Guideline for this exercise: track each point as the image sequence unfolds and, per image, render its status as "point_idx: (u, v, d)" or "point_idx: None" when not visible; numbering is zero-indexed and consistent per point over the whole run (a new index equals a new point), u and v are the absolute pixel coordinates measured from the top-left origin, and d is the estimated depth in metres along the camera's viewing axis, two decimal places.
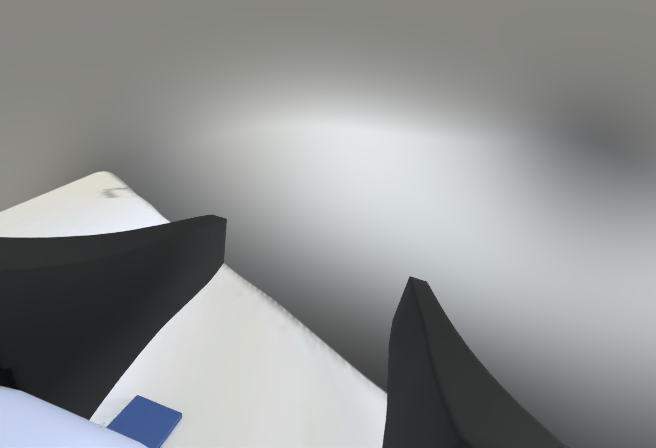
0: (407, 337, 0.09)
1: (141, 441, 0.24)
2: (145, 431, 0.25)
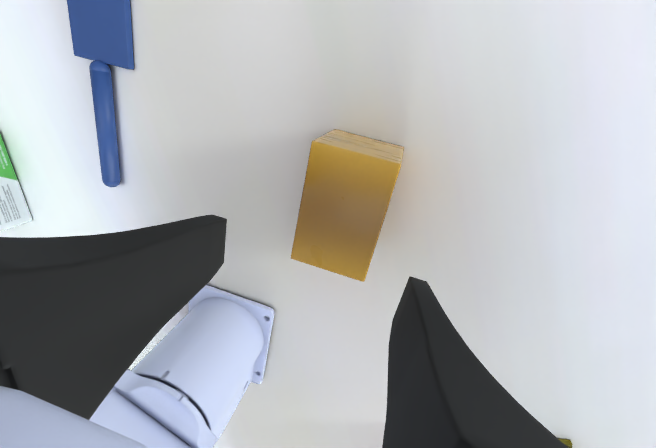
0: (407, 337, 0.09)
1: (108, 21, 0.20)
2: (103, 7, 0.20)
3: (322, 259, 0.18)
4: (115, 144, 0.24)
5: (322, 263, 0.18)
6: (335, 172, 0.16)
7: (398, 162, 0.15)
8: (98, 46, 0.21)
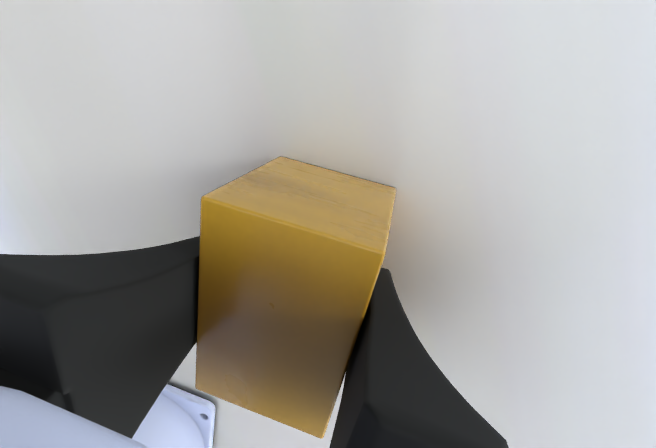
0: (362, 322, 0.09)
1: None
2: None
3: (248, 397, 0.10)
4: None
5: (247, 403, 0.10)
6: (254, 259, 0.08)
7: (380, 246, 0.07)
8: None
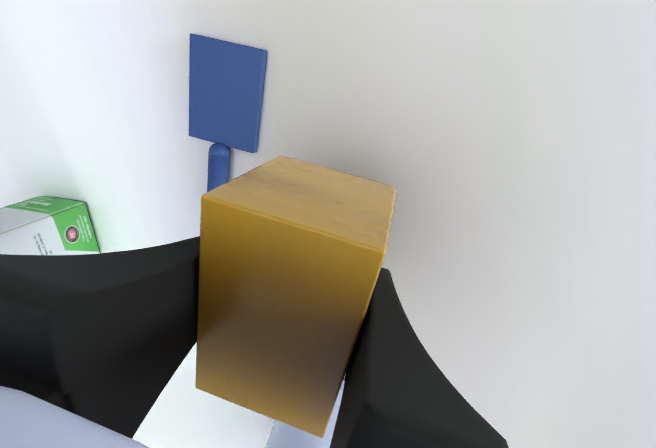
0: None
1: (236, 104, 0.18)
2: (233, 89, 0.18)
3: (248, 396, 0.10)
4: None
5: (248, 402, 0.10)
6: (254, 258, 0.08)
7: (380, 244, 0.07)
8: (219, 128, 0.19)
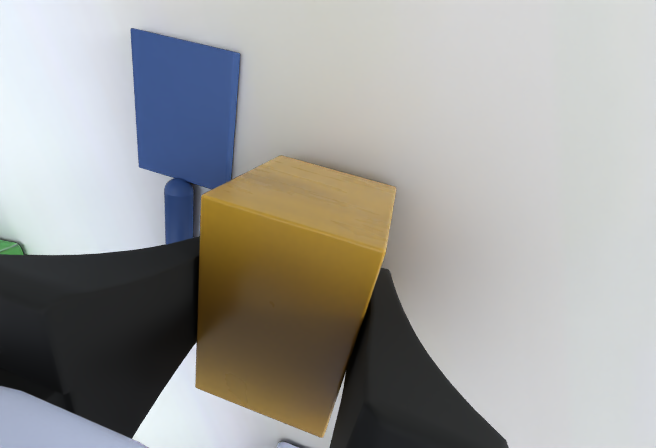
0: (362, 322, 0.09)
1: (200, 127, 0.13)
2: (194, 107, 0.13)
3: (248, 396, 0.10)
4: None
5: (248, 402, 0.10)
6: (254, 257, 0.08)
7: (380, 244, 0.07)
8: (178, 159, 0.14)
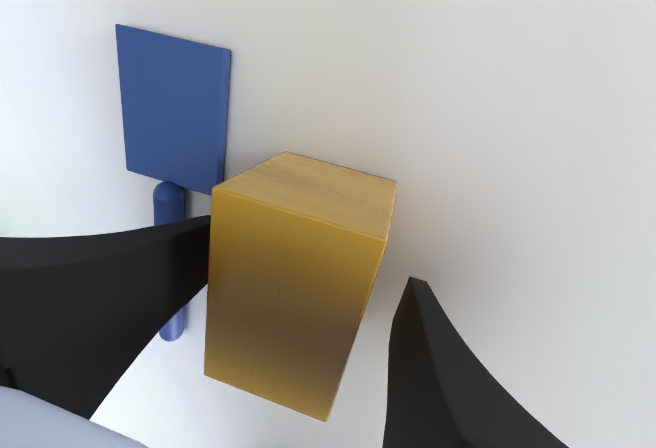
0: (407, 337, 0.09)
1: (189, 128, 0.12)
2: (183, 107, 0.12)
3: (254, 382, 0.10)
4: None
5: (254, 388, 0.10)
6: (262, 247, 0.08)
7: (382, 233, 0.07)
8: (167, 162, 0.13)
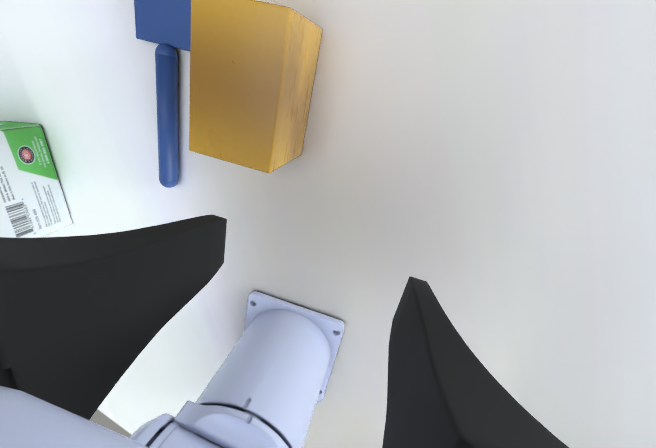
0: (407, 337, 0.09)
1: None
2: None
3: (222, 147, 0.16)
4: (176, 139, 0.21)
5: (222, 153, 0.16)
6: (221, 28, 0.13)
7: None
8: (165, 27, 0.18)
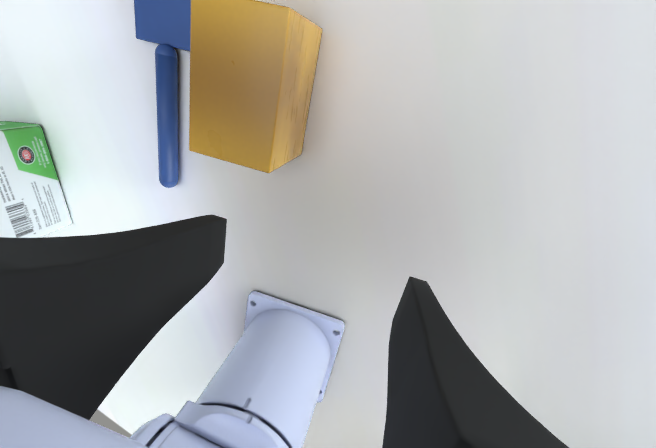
0: (407, 337, 0.09)
1: None
2: None
3: (222, 147, 0.16)
4: (176, 139, 0.21)
5: (222, 153, 0.16)
6: (221, 28, 0.13)
7: (289, 8, 0.13)
8: (165, 27, 0.18)
